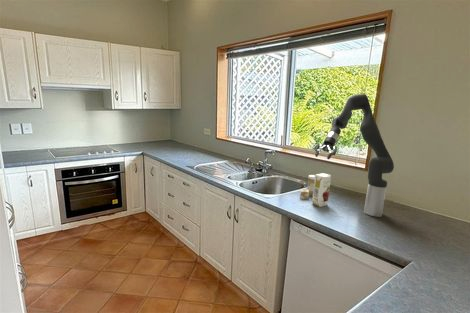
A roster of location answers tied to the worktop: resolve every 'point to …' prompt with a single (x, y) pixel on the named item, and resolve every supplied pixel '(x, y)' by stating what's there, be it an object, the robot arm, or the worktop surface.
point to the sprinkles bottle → (311, 184)
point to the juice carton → (321, 189)
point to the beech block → (304, 194)
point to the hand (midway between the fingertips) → (321, 157)
